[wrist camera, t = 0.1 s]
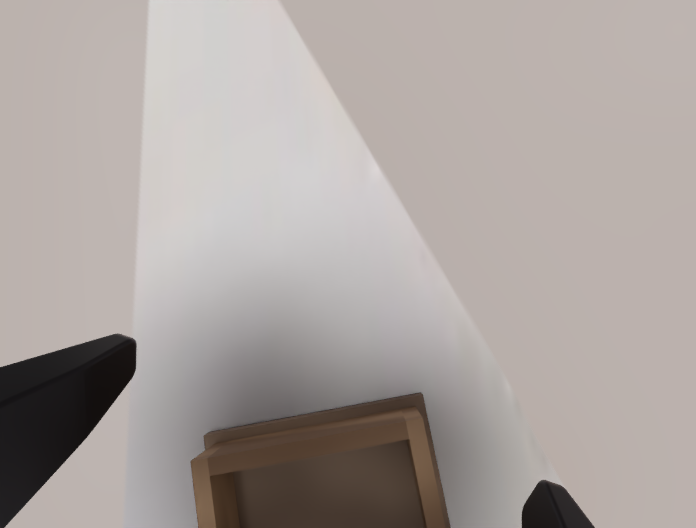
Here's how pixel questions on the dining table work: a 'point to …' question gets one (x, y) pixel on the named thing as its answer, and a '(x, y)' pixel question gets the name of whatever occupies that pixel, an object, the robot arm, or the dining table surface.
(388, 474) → the walnut socket
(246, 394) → the dining table surface
